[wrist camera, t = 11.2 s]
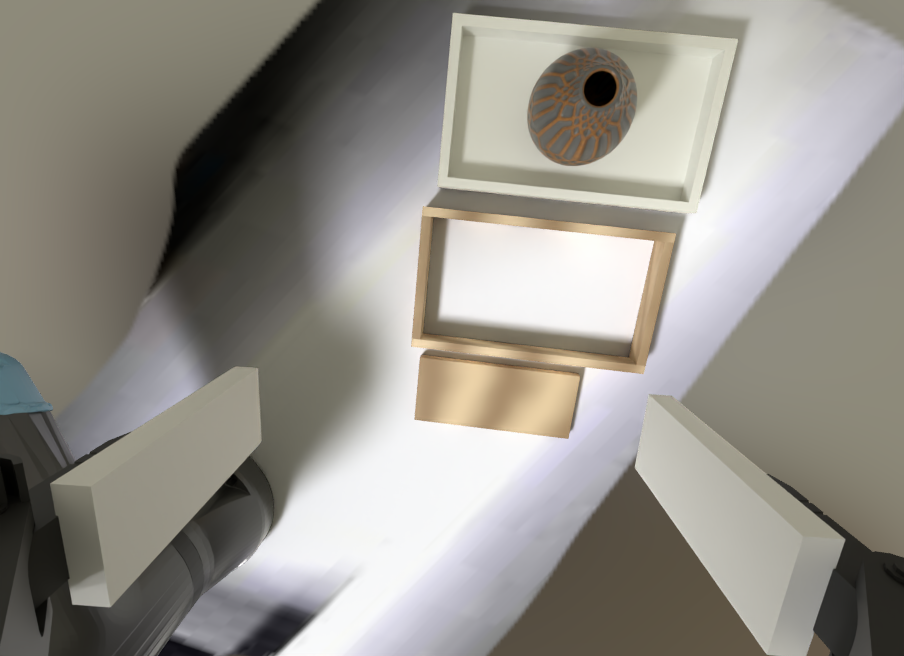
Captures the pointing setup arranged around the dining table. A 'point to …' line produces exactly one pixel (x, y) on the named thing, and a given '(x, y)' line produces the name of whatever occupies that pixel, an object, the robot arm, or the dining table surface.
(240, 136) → the dining table surface
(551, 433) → the lid
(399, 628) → the dining table surface
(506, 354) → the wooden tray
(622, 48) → the off-white tray
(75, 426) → the dining table surface
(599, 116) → the vase
